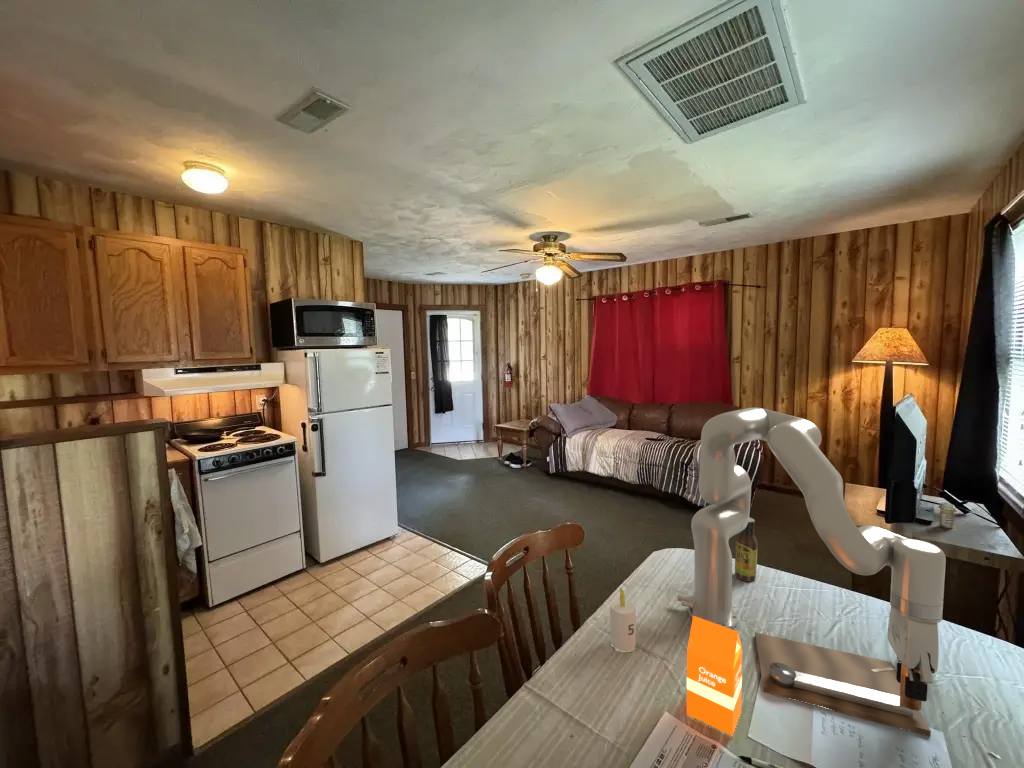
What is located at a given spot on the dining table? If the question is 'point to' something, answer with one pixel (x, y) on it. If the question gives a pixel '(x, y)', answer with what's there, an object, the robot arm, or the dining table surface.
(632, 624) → the candle
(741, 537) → the sauce bottle
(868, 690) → the lever
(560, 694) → the dining table surface
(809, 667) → the lever base
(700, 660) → the orange juice
